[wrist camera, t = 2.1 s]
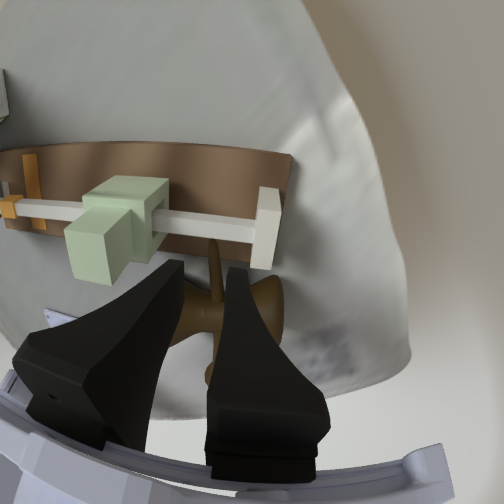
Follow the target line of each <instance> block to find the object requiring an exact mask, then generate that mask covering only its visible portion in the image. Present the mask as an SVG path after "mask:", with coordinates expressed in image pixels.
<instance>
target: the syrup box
mask: <svg viewBox="0 0 504 504" xmlns="http://www.w3.org/2000/svg"><path fill="white" fill-rule="evenodd" d="M8 115H9V108H8V100H7V94H6V88H5V81H4V74H3V68H0V123H1V122H2V121H3V120H4V119H5V118H6V117H7V116H8Z"/></svg>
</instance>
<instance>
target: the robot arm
mask: <svg viewBox="0 0 504 504" xmlns="http://www.w3.org/2000/svg"><path fill="white" fill-rule="evenodd" d="M184 300H185V296H184V261H180V260H172V259H169V260H168V261H166V262H165V263H164V264H163V265H161V266H160V267H159V268H157V269H156V270H155V271H154V272H152V273H151V274H150V275H149V276H147V277H146V278H145V279H144V280H142V281H141V282H140V283H138V284H137V285H136V286H134V287H133V288H131V289H130V290H128V291H127V292H126V293H124V294H123V295H121V296H120V297H118V298H116V299H115V300H113V301H111V302H110V303H108V304H106V305H104V306H103V307H101V308H99V309H97V310H95V311H93V312H90V313H88V314H86V315H84V316H82V317H80V318H74V317H71V316H68V315H64V314H61V313H58V312H55V311H52V310H49V309H45V310H44V314H45V316H46V318H47V321H48V323H49V325H50V328H48V329H45V330H41V331H37V332H33V333H30V334H29V335H28V336H27V338H26V339H25V341H24V342H23V343H22V345H21V346H20V348H19V349H18V351H17V352H16V354H15V356H14V357H13V359H12V364H13V367H14V370H13V369H11V370H9V371H8V373H7V374H6V376H5V377H4V379H3V380H2V382H1V384H0V504H443V503H445V502H448V501H450V500H452V499H453V498H454V497H455V496H454V491H453V486H452V481H451V477H450V472H449V468H448V464H447V460H446V456H445V452H444V449H443V446H442V444H441V443H438V444H435V445H431V446H428V447H424V448H420V449H417V450H415V451H412V452H411V453H409V454H407V455H406V456H404V457H403V459H400V460H395V461H391V462H385V463H379V464H374V465H367V466H361V467H354V468H345V469H335V470H322V471H316V466H315V457H317V456H318V448H317V444H318V443H319V442H320V441H321V440H322V439H323V438H324V436H325V435H326V434H327V433H328V432H329V430H330V428H331V425H330V416H329V411H328V408H327V404H326V401H325V398H324V395H323V393H322V392H321V391H320V390H319V389H318V388H317V387H316V386H314V385H313V384H312V383H311V382H310V381H309V380H308V379H307V378H306V377H305V376H304V375H303V374H302V373H301V372H300V371H299V370H298V369H297V368H296V367H295V366H294V365H293V363H292V362H291V361H290V360H289V358H288V357H287V356H286V355H285V353H284V352H283V351H282V350H281V348H280V347H279V346H278V344H277V343H276V341H275V340H274V338H273V337H272V335H271V333H270V332H269V330H268V328H267V327H266V325H265V323H264V321H263V319H262V317H261V315H260V313H259V311H258V309H257V306H256V304H255V301H254V298H253V296H252V293H251V290H250V286H249V283H248V278H247V271H246V270H245V269H239V268H231V267H229V270H228V274H227V279H226V291H225V303H224V315H223V326H222V331H221V336H220V341H219V345H218V350H217V354H216V359H215V363H214V368H213V372H212V376H211V380H210V384H209V388H208V392H207V435H206V441H205V448H204V451H205V456H206V465H199V464H193V463H188V462H182V461H178V460H172V459H168V458H164V457H159V456H156V455H152V454H147V453H145V445H146V438H147V431H148V424H149V419H150V413H151V408H152V403H153V398H154V394H155V389H156V385H157V381H158V377H159V373H160V369H161V366H162V363H163V360H164V358H165V355H166V353H167V350H168V348H169V345H170V343H171V340H172V338H173V335H174V333H175V330H176V327H177V325H178V322H179V320H180V316H181V312H182V308H183V304H184ZM76 450H77V451H76ZM78 451H79V452H78ZM83 453H84V454H83ZM85 454H86V455H85ZM88 455H89V456H88ZM90 456H91V457H90ZM93 457H94V458H93ZM95 458H96V459H95ZM98 459H99V460H98ZM100 460H101V461H100ZM103 461H104V462H103ZM106 462H107V463H106ZM108 463H109V464H108ZM111 464H112V465H111ZM114 465H115V466H114ZM117 466H118V467H117ZM120 467H121V468H120ZM123 468H124V469H123ZM126 469H127V470H126ZM129 470H130V471H129ZM132 471H134V472H132ZM135 472H137V473H135ZM138 473H140V474H138ZM141 474H144V475H148V476H151V477H155V478H160V479H163V480H168V481H173V482H177V483H182V484H187V485H193V486H199V487H205V488H212V489H220V490H229V491H238V492H237V493H236V494H235V497H229V496H223V495H216V494H210V493H205V492H200V491H196V490H191V489H187V488H182V487H178V486H174V485H170V484H167V483H164V482H162V481H159V480H156V479H154V478H151V477H147V476H144V475H141Z"/></svg>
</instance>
